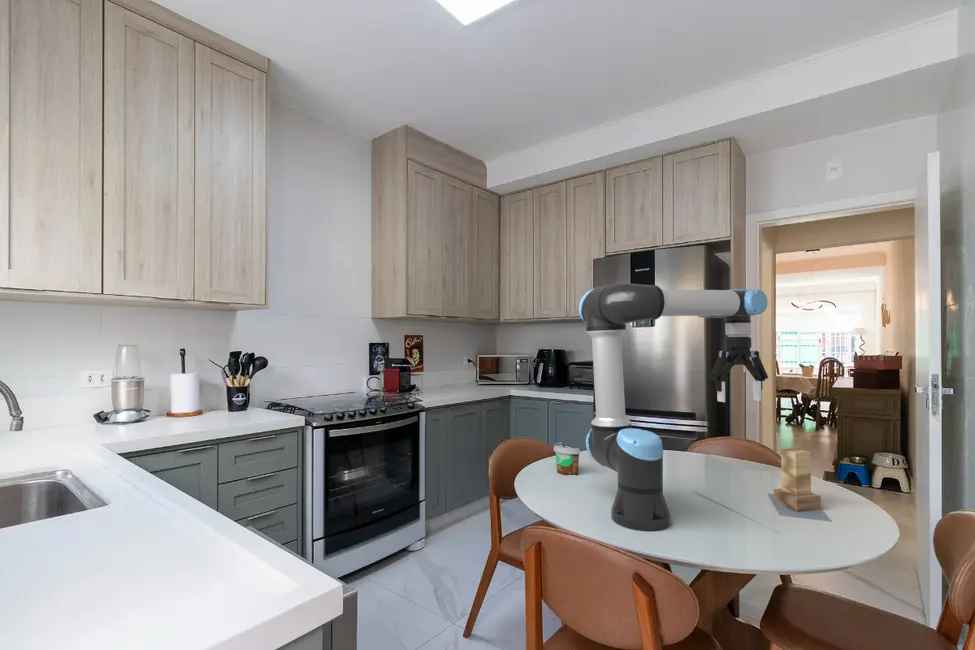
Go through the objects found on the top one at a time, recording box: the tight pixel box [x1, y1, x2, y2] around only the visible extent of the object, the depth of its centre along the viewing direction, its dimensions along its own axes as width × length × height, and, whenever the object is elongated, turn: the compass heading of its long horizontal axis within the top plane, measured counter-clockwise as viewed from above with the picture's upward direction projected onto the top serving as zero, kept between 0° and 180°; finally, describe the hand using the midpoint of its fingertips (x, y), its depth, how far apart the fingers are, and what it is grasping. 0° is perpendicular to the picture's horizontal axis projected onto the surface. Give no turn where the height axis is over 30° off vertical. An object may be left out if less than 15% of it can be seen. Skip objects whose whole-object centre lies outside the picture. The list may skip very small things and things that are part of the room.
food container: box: [553, 441, 581, 476], centre depth 172 cm, size 12×6×10 cm, turn 25°
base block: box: [773, 487, 822, 512], centre depth 136 cm, size 8×8×4 cm
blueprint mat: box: [767, 493, 833, 523], centre depth 135 cm, size 20×12×1 cm, turn 157°
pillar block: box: [780, 447, 812, 496], centre depth 136 cm, size 5×5×12 cm
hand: (739, 401), depth 153 cm, fingers open, 13 cm apart
